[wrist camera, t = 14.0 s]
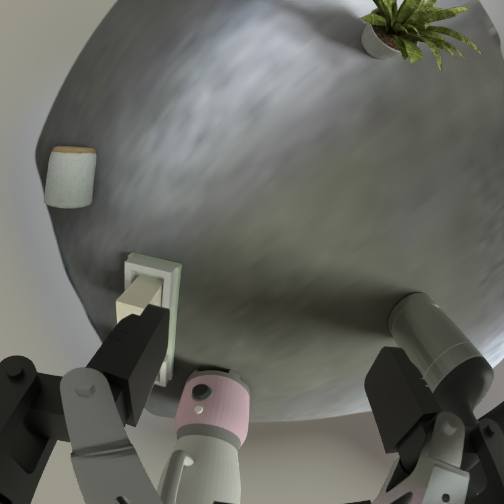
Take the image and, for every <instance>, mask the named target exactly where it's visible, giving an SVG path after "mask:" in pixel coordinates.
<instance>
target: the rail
mask: <svg viewBox="0 0 504 504" xmlns="http://www.w3.org/2000/svg"><path fill="white" fill-rule="evenodd" d="M181 269H182V264H181V263H177V262H172V261H168V260H163V259H159V258H155V257H150V256H146V255H142V254H138V253H134V252H132V253H130V254H129V255H128V259H127V260H126V261H125V290H126V289H127V288H128V287H129V286H130V285H131V284H132V283H133V282H134V280H135V279H136V278H137V277H138V276H139V275H144V276H148V277H153V278H157V279H161V280H164V285H163V299H162V307H164V308H168V309H169V310H170V321H169V339H168V348H167V353H166V356H165V359H164V361H163V364H162V366H161V368H160V371H159V373H158V375H157V378H156V380H155V382H154V384H156V385H160V386H163V387H166V385H167V382H168V380H171V379H172V377H173V367H174V348H175V333H176V320H177V309H178V298H179V288H180V278H181ZM152 388H153V387H152ZM151 390H152V389H151ZM150 393H151V392H150ZM149 395H150V394H149ZM148 397H149V396H148ZM147 400H148V399H147Z"/></svg>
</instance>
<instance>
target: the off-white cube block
mask: <svg viewBox="0 0 504 504" xmlns="http://www.w3.org/2000/svg"><path fill="white" fill-rule="evenodd" d="M163 285H164V280H161V279H157V278H153V277H148V276H144V275H139V276H138V277H137V278H136V279H135V280H134V282H133V283H132V284H131V285H130V286H129V287H128V288H127V289H126V290H125V291H124V292H123V294H122V295H121V296H120V297H119V298H118V299H117V300H116V312H117V324H118V323H119V321H120V320H121V319H123V318H125V317H127V316H128V315H130V314H136V315H139V316H140V315H141V313H142V312H143V310H144V309H145V308H146V306H147V305H148V304H153V305H156V306H160V307H162V299H163Z"/></svg>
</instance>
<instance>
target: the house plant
mask: <svg viewBox="0 0 504 504" xmlns="http://www.w3.org/2000/svg"><path fill="white" fill-rule="evenodd" d="M373 1H374V3H375V4H376V5H377V7H378V8H376V9H375V10H373V11H372V12H371V13H370V14H368V15H366V16H364V17H361V18H359V19H362V20H364V21H366V22H367V23H366V25H365V28H364V30H363V33H362V36H361V43H362V45H363V47H364V49H365V50H366V51H367V53H368V54H370V55H371V56H372V57H374V58H376V59H380V60H386V59H389V58H393V57H397V56H400V55H402V56H403V59H404V61H405V59H406V58H407V57H408V56H409V57H410V61H411V63H413V62H416V61H420V59H421V58H422V52H421V50H420V49H419V48H418V46H419V42H425V43H427V45H428V46H429V47H430V48H431V50H432V51H433V53H434V54H435V56H436V59H437V63H438V66H439V68H440V70H441V72H442V61H441V56H440V52H439V50H438V48H440V49H443V50H445V51H447V52H449V53H450V54H451V55H452V56H454V57H456V56H455V55H454V54H453V53H452V51H451V50H450V49H453V50H454V51H456V52H458V53H459V54H460V55H461V56H462V57H463V58H464V56H463V55H462V53H461V52H460V51H459V50H458V49H457V48H456V47H455V46H453V45H452V44H450V43H448V42H446V41H445V40H444V38H443V37H442V36H441V35H440V34H438V33H442V34H446V35H449V36H452V37H454V38H456V39H458V40H460V41H462V42H465V43H467V44H469V45H471V46H472V47H473V48H474V49H475V50H477V51H478V52H479V53H481V52H480V50H479V49H478V48H477V47H476V46H475V45H474V44H473V43H472V42H471V41H470V40H469V39H468V38H466V37H465V36H463V35H462V34H460V33H458V32H456V31H454V30H451V29H448V28H445V27H436V26H429V25H430V24H429V23H430V22H435V21H439V20H443V19H447V18H451V17H455V16H456V15H458V14H460V13H461V12H464V11H467V10H468V9H469V8H467V7H454V8H450V9H445V10H441V9H442V8H439V7H433V6H434V4H435V3H436V0H428V1H427V2H426V3H425V4H423V3H424V0H404V1H403V3H402V4H401V6H400V8H399V10H398V11H397V3H396V2H397V0H373ZM415 10H416V11H415ZM437 10H440V11H437ZM435 11H436V12H435ZM423 25H425V26H423ZM436 32H438V33H436ZM419 34H420V35H419ZM422 35H424V36H422ZM437 47H438V48H437ZM447 47H449V48H450V49H448V48H447ZM481 54H482V53H481ZM482 55H483V54H482ZM411 63H410V64H411Z"/></svg>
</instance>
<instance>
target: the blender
mask: <svg viewBox="0 0 504 504" xmlns="http://www.w3.org/2000/svg"><path fill="white" fill-rule="evenodd" d="M249 403H250V390H249V388H248V386H247V385H246V384H245V383H244V382H243V381H242V380H241V379H240V375H239V374H238V373H237V372H235V371H233V370H229V372H228V373H226V372H222V371H214V370H208V371H201V372H199V371H198V370H195V371H193V372H192V373H191V374H190V376H189V378H188V379H187V380H186V383H185V386H184V390H183V393H182V396H181V399H180V402H179V405H178V409H177V412H176V416H175V431H176V434H177V442H176V445H175V447H174V449H173V451H172V453H171V455H170V457H169V459H168V461H167V463H166V465H165V467H164V469H163V472H162V474H161V477H160V481H159V484H158V488H157V493H158V495H159V497H160V499H161V500H162V502H163V504H213V502H214V501H218V502H225V503H233V504H240V493H241V488H240V487H241V485H240V474H239V464H238V454H237V453H238V450H239V448H240V446H241V445H242V444H243V442H244V440H245V438H246V435H247V432H248V420H249Z"/></svg>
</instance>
